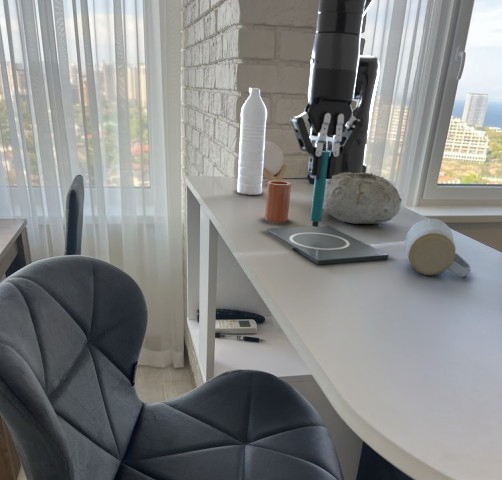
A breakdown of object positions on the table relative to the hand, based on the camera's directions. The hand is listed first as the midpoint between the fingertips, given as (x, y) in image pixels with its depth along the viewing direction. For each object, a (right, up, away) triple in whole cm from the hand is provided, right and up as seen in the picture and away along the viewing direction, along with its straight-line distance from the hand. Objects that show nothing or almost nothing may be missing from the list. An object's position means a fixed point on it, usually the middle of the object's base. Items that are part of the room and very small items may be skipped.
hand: (320, 177), depth 89 cm
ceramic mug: (+18, -17, -6) cm, 25 cm away
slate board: (+1, -11, +4) cm, 12 cm away
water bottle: (-13, +10, +46) cm, 49 cm away
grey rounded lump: (+11, -3, +23) cm, 25 cm away
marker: (-1, -8, +4) cm, 9 cm away
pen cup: (-7, -4, +18) cm, 20 cm away
